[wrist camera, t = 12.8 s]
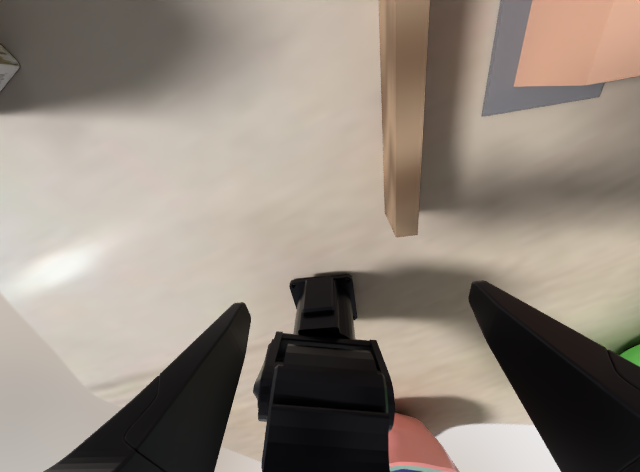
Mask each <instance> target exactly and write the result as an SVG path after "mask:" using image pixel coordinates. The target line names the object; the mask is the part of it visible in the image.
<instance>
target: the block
mask: <svg viewBox="0 0 640 472" xmlns="http://www.w3.org/2000/svg"><path fill="white" fill-rule="evenodd" d="M636 76H640V0H532V4H531V9H530V14H529V18H528V23H527V27H526V32H525V37H524V41H523V46H522V51H521V55H520V60H519V64H518V69H517V74H516V78H515V83H514V87H524V86H582V85H590V84H596V83H602V82H608V81H613V80H619V79H625V78H630V77H636Z"/></svg>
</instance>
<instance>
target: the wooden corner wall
mask: <svg viewBox="0 0 640 472" xmlns="http://www.w3.org/2000/svg"><path fill="white" fill-rule="evenodd" d="M429 8H430V0H379V23H380V58H381V93H382V128H383V163H384V198H385V214H386V216H387V219H388V221H389V223H390V225H391V227H392V230H393V232H394V234H395V236H396V237H404V236H412V235H418V217H419V198H420V179H421V160H422V141H423V122H424V103H425V84H426V65H427V46H428V27H429Z"/></svg>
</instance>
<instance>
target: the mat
mask: <svg viewBox="0 0 640 472" xmlns="http://www.w3.org/2000/svg"><path fill="white" fill-rule="evenodd" d="M531 4H532V0H501V2H500V8H499V14H498V20H497V26H496V32H495V38H494V44H493V50H492V56H491V62H490V68H489V74H488V80H487V86H486V92H485V99H484V105H483V111H482V116H490V115H495V114H501V113H507V112H513V111H519V110H525V109H531V108H537V107H542V106H548V105H554V104H560V103H566V102H572V101H578V100H583V99H589V98H595V97H599V95H600V92H601V90H602V87H603V84H604V82H602V83H596V84H590V85H582V86H524V87H514V83H515V78H516V74H517V69H518V64H519V60H520V55H521V51H522V46H523V41H524V37H525V32H526V27H527V23H528V18H529V14H530V9H531Z"/></svg>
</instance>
